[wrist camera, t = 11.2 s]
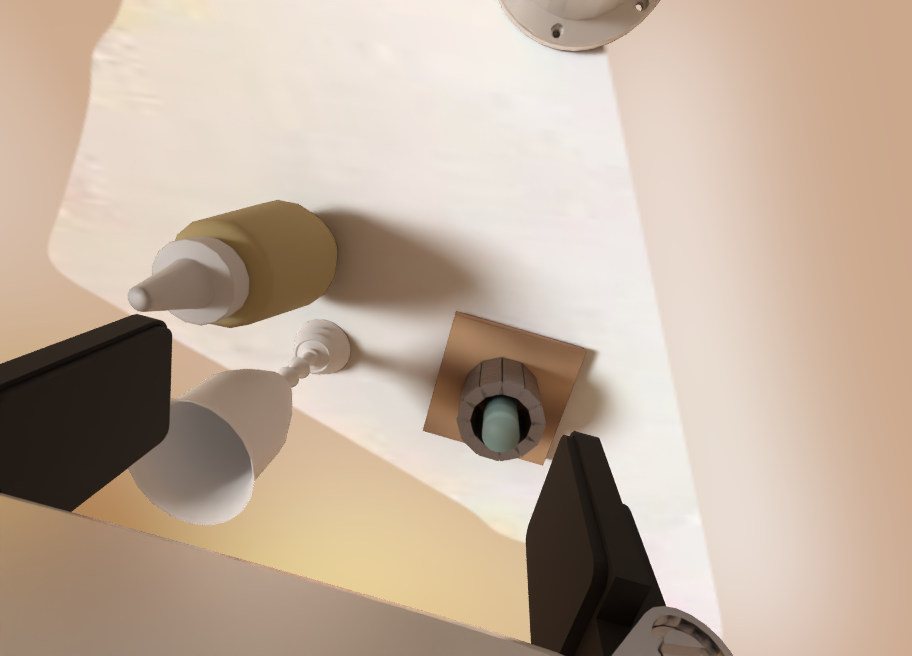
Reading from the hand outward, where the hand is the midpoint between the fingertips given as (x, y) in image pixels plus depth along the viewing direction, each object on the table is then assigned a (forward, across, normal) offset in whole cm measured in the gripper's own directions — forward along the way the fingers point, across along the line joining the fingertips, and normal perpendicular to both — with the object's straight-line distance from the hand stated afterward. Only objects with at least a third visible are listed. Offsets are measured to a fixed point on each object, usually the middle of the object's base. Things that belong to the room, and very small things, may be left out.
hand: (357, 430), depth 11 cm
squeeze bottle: (+28, +13, +3) cm, 31 cm away
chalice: (+27, +10, +11) cm, 31 cm away
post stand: (+27, -6, +11) cm, 30 cm away
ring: (+26, -6, +11) cm, 29 cm away
